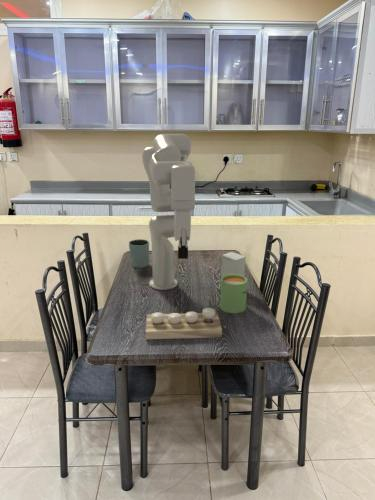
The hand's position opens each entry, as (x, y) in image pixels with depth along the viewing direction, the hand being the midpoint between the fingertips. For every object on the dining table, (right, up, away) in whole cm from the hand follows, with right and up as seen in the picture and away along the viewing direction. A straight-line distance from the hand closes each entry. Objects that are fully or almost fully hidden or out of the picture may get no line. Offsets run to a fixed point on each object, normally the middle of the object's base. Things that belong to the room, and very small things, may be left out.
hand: (183, 257), depth 132 cm
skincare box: (+21, -15, +41) cm, 48 cm away
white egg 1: (-3, -25, +8) cm, 27 cm away
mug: (+20, -20, +26) cm, 38 cm away
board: (0, -26, +9) cm, 27 cm away
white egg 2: (+3, -25, +9) cm, 26 cm away
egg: (+9, -23, +9) cm, 26 cm away
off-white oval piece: (-9, -25, +8) cm, 28 cm away
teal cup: (-23, -5, +68) cm, 72 cm away
